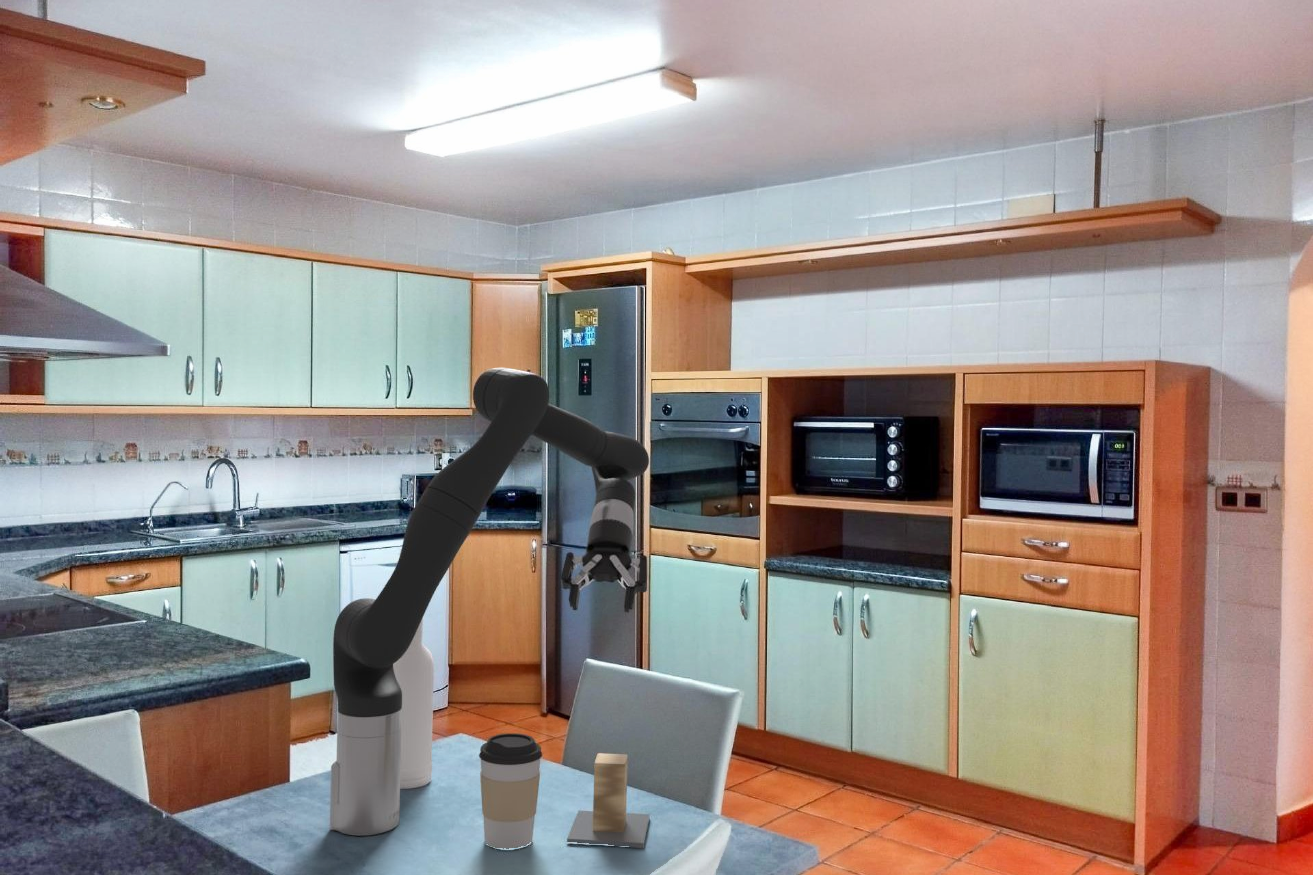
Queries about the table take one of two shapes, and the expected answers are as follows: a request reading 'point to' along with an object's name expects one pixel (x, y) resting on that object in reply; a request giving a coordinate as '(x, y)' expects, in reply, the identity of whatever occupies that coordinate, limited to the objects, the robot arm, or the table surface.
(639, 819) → the slate coaster
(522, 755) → the coffee cup
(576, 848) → the table surface
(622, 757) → the oak block
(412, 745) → the bottle
